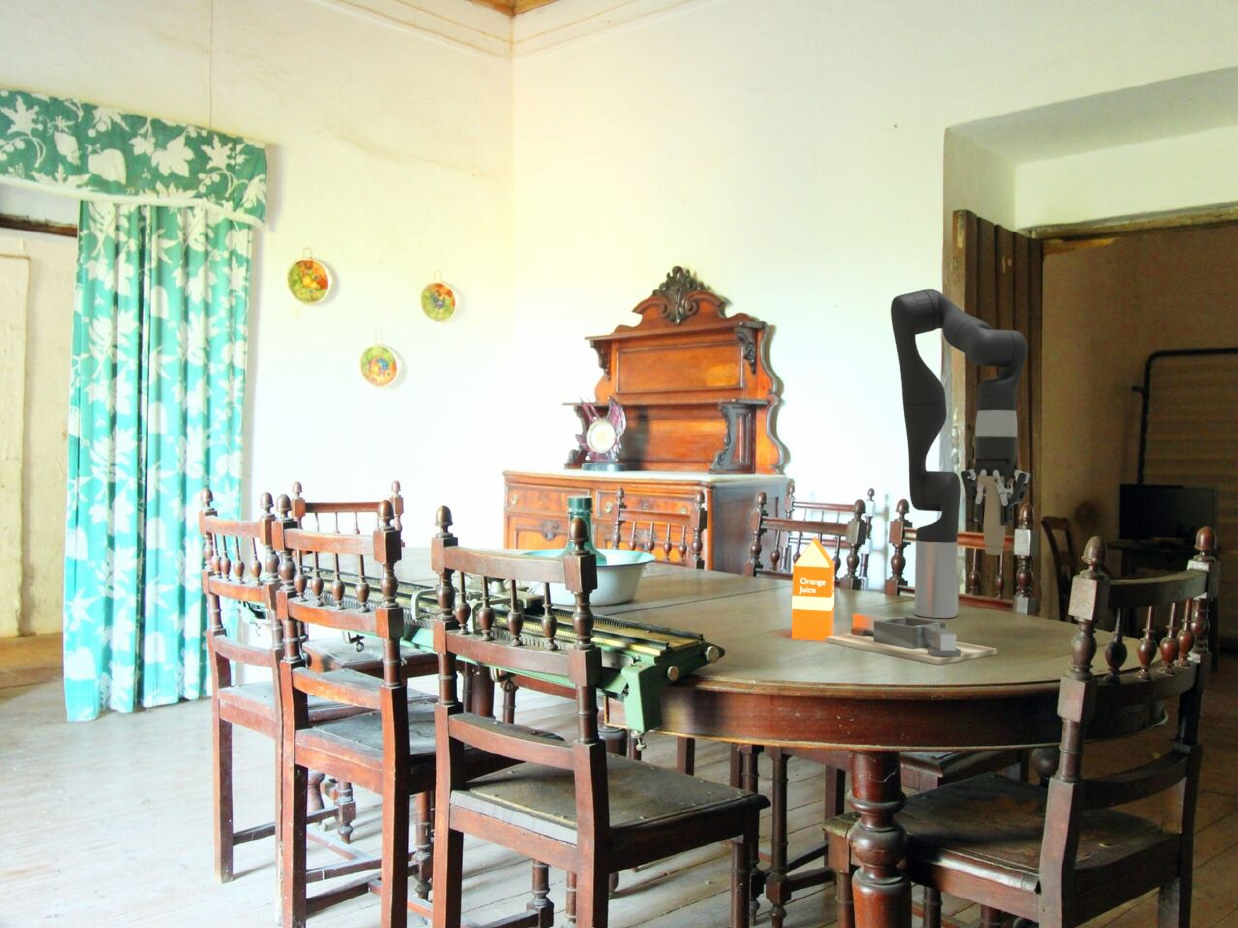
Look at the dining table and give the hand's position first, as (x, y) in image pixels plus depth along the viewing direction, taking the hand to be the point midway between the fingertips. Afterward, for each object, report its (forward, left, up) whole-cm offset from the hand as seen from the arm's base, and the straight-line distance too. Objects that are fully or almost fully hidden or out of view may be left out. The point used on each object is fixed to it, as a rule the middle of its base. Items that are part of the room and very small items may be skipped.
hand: (994, 524), depth 197 cm
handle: (0, 0, -6) cm, 6 cm away
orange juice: (+18, -29, -24) cm, 42 cm away
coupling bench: (+12, -10, -24) cm, 29 cm away
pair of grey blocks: (+14, -10, -23) cm, 29 cm away
